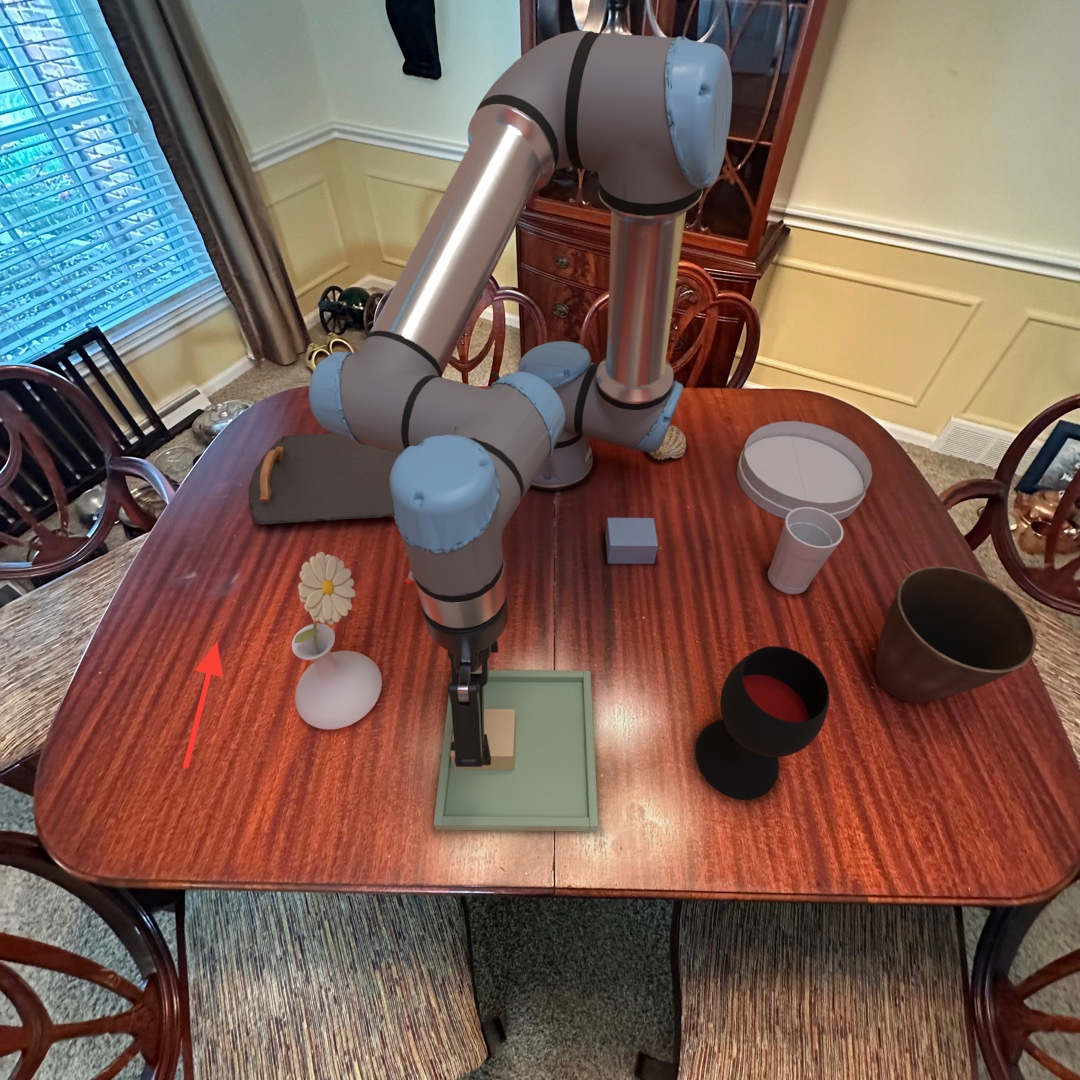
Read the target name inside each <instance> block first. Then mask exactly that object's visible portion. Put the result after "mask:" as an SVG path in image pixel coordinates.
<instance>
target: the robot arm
mask: <svg viewBox="0 0 1080 1080" xmlns="http://www.w3.org/2000/svg"><path fill="white" fill-rule="evenodd" d="M732 78H733V76H732V68H731V65H730V60H729V58H728V55H727V53H726V52H725V51H724V49H723V48H722V47H720V46H719V45H717V44H715V43H710V42H702V41H697V40H692V39H689V38H687V37H686V36H677V37H670V36H669V37H666V36H653V35H637V34H625V33H624V34H623V33H622V34H621V33H607V32H595V31H592V30H572V31H568V32H564V33H560V34H557V35H555V36H553V37H551V38H549V39H546V40H544V41H543V42H541V43H539V44H537V45H535V46H534V47H532V48H531V49H529V50H528V51H527V52H526V53H525V54H523V55H522V56H521V57H519V58H518V59H517V60H516V61H514V62H513V63H512V64H511V65H510V66H509V67H508V68H507V69H506V70H505V71H504V72H503V73H502V74H501V75H500V76H499V77H498V78H497V79H496V80H495V82H494V83H493V84H492V85H491V86H490V88H489V89H488V91H487V92H486V93H485V94H484V96H483V98H482V99H481V101H480V103H479V104H478V106H477V108H476V110H475V112H474V114H473V116H472V117H471V119H470V121H469V124H468V128H467V142H468V148H467V150H466V151H465V154H464V155H463V157H462V159H461V161H460V163H459V164H458V166H457V168H456V170H455V172H454V174H453V176H452V178H451V179H450V181H449V183H448V185H447V187H446V190H445V191H444V192H443V194H442V196H441V198H440V199H439V202H438V204H437V206H436V208H434V211H433V214H432V215H431V217H430V218H429V221H428V223H427V224H426V226H425V228H424V230H423V232H422V234H421V236H420V238H419V240H418V241H417V243H416V245H415V246H414V249H413V251H412V252H411V255H410V256H409V258H408V260H407V262H406V263H405V265H404V268H403V269H402V272H401V273H400V275H399V277H398V279H397V281H396V283H395V284H394V286H393V288H392V290H391V292H390V294H389V296H388V298H387V299H386V301H385V303H384V305H383V307H382V309H381V311H380V313H379V314H378V316H377V318H376V320H375V322H374V323H373V325H372V327H371V328H370V331H369V332H368V334H367V336H366V337H365V340H364V341H363V343H362V345H361V347H360V349H359V350H358V352H357V353H356V352H352V351H346V352H344V351H334V352H331V353H330V354H328V356H327V357H325V358H324V359H321V360H320V361H319V362H318V364H317V365H316V367H315V368H314V370H313V372H312V375H311V377H310V382H309V388H308V402H309V407H310V410H311V413H312V415H313V417H314V420H316V422H317V423H318V424H319V426H320V427H321V428H323V429H324V430H327V431H328V432H330V433H335V434H338V435H340V436H343V437H346V438H348V439H351V440H353V441H354V442H357V443H359V444H362V445H364V444H365V445H366V444H367V445H370V446H374V447H377V448H381V449H385V450H388V451H392V452H395V453H399V454H400V455H399V456H398V458H397V459H396V461H395V462H394V464H393V467H392V470H391V473H390V490H391V494H392V500H393V506H394V508H393V515H394V517H393V520H394V523H395V525H396V527H397V531H398V532H399V534H400V537H401V541H402V544H403V547H404V550H405V554H406V556H407V559H408V563H409V566H410V570H409V571H408V574H407V579H408V581H410V582H414V583H415V586H416V591H417V595H418V598H419V602H420V605H421V610H422V614H423V618H424V621H425V625H426V629H427V631H428V634H429V636H430V637H431V639H432V640H433V641H434V642H435V644H437V645H438V646H439V647H441V648H443V649H444V650H446V651H447V656H448V659H449V660H450V680H451V682H450V681H449V683H448V686H447V693H448V697H449V696H450V701H451V708H452V722H453V735H454V741H452V744H451V747H450V749H451V751H455V766H456V767H482V766H483V765H491V755H490V749H489V744H488V739H487V734H484V685H486V684H487V681H488V676H489V672H488V670H489V659H490V655H491V654H494V653H495V654H497V653H499V644H498V642H499V641H498V640H499V638H501V636H502V635H503V634H504V632H505V630H506V627H507V625H508V621H509V607H508V596H507V593H508V592H507V591H508V590H507V576H506V563H505V560H504V554H503V534H504V530H505V528H506V526H507V524H508V523H509V521H510V519H511V518H512V516H513V515H514V513H515V512H516V510H517V508H518V507H519V506H520V503H521V501H522V500H523V498H524V496H525V495H526V493H527V492H528V490H529V489H533V490H536V491H539V492H540V491H541V492H547V493H555V492H565V491H568V490H571V489H573V488H576V487H578V486H580V485H581V484H583V483H584V482H585V481H586V480H587V479H588V478H589V476H590V474H591V473H592V470H593V460H594V459H593V451H592V446H591V445H590V443H589V440H588V438H591V439H595V440H598V441H601V442H606V443H609V444H612V445H616V446H619V447H622V448H627V449H630V450H632V451H641V452H644V453H645V452H646V453H649V452H655V451H657V450H658V449H659V448H660V447H661V445H662V443H663V440H664V438H665V436H666V433H667V431H668V428H669V426H670V425H671V423H672V420H673V418H674V415H675V413H676V410H677V408H678V405H679V402H680V399H681V397H682V394H683V391H684V385H683V384H682V383H680V382H678V381H677V380H674V378H675V377H674V376H675V373H674V369H673V367H672V365H671V363H670V362H669V361H668V359H667V353H668V346H669V340H670V339H669V338H670V331H671V324H672V318H673V317H672V316H673V310H674V302H675V296H676V287H677V281H678V275H679V274H678V273H679V267H680V266H679V265H680V260H681V251H682V250H681V249H682V245H683V237H684V230H685V224H686V223H685V222H686V215H687V211H689V210H690V209H691V208H693V207H694V206H695V205H696V204H698V203H699V201H700V200H701V198H702V196H703V193H704V189H706V188H710V187H712V186H713V185H714V184H715V183H716V181H717V180H718V178H719V176H720V173H721V170H722V166H723V163H724V160H725V155H726V149H727V139H728V137H729V133H730V127H731V126H730V125H731V117H732V104H733V79H732ZM562 168H575V169H578V170H584V171H589V172H596V173H597V174H598V197H599V199H600V201H601V203H602V204H603V205H604V206H605V207H607V208H608V210H610V211H611V213H610V239H609V240H610V241H609V243H610V244H609V245H610V246H609V269H608V270H609V273H608V275H609V277H608V303H607V305H608V306H607V307H608V308H607V334H606V335H607V337H606V339H607V340H606V356H605V357H604V358H603V359H602V360H601V361H600V363H595V362H593V361H592V357H591V355H590V351H589V350H588V349H587V348H585V346H584V345H582V344H581V343H577V342H573V341H569V340H568V341H566V340H559V341H558V340H557V341H549V342H546V343H542V344H540V345H537V346H535V347H533V348H531V349H529V350H528V351H527V352H526V353H525V354H524V355H522V357H521V358H520V361H519V362H518V367H517V371H516V372H512V373H507V374H504V375H503V376H501V377H500V374H499V373H498V372H496V371H494V372H493V373H492V374H491V376H492V377H493V378H495V382H492V383H491V385H490V386H489V387H488V388H483V387H480V386H475V385H473V384H468V383H465V382H462V381H457V380H454V379H449V378H445V377H443V375H444V374H445V371H446V369H447V367H448V364H450V363H449V362H450V361H451V359H452V357H453V355H454V353H455V350H456V349H457V346H458V344H459V342H460V341H461V339H462V337H463V334H464V332H465V330H466V329H467V326H468V325H469V322H470V320H471V319H472V316H473V314H474V312H475V310H476V308H477V306H478V304H479V302H480V300H481V298H482V296H483V294H484V293H485V292H484V291H485V290H486V287H487V285H488V284H489V281H490V280H491V278H492V275H493V274H494V272H495V269H496V268H497V265H498V263H499V261H500V259H501V257H502V255H503V253H504V251H505V249H506V247H507V245H508V243H509V241H510V239H511V237H512V235H513V233H514V231H515V230H516V228H517V227H516V226H517V224H518V223H519V220H520V219H521V217H522V214H523V213H524V210H525V208H526V206H527V205H528V203H529V201H530V198H531V196H532V194H533V193H534V192H538V191H540V190H542V189H543V188H545V187H546V186H547V184H548V183H549V182H550V180H551V178H552V177H553V175H554V172H555V171H556V170H559V169H562ZM480 668H481V670H482V673H472V672H475V671H477V670H480Z"/></svg>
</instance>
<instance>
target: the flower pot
mask: <svg viewBox="0 0 1080 1080" xmlns="http://www.w3.org/2000/svg"><path fill="white" fill-rule="evenodd" d="M1036 647H1037V634H1036V630H1035V627H1034V624H1033V623H1032V620H1031V618H1030V617H1029V615H1028V613H1027V612H1026V611H1025V609H1024V608H1023V607H1022V606H1021V604H1020V603H1019V602H1018V601H1017V600H1016V599H1015V598H1014V597H1013V596H1011V594H1009V593H1008V592H1007V591H1006V590H1004V589H1003V588H1002V587H1001V586H999V585H997V584H996V583H994V582H992V581H991V580H990V579H987V578H985V577H984V576H981V575H979V574H976V573H974V572H971V571H968V570H965V569H961V568H958V567H952V566H944V565H942V566H941V565H935V566H925V567H921V568H919V569H916V570H914V571H912V572H910V573H909V574H907V576H905V577H904V579H902V582H901V583H900V585H899V587H898V589H897V591H896V593H895V595H894V597H893V599H892V601H891V603H890V606H889V608H888V611H887V613H886V616H885V619H884V621H883V625H882V628H881V632H880V635H879V639H878V644H877V650H876V658H875V676H876V678H877V681H878V683H879V684H880V686H881V687H882V689H884V690H885V691H886V692H887V694H889V695H891V696H892V697H894V698H895V699H897V700H899V701H902V702H904V703H905V702H906V703H909V704H920V703H927V702H932V701H938V700H943V699H946V698H947V699H948V698H951V697H954V696H957V695H960V694H964V693H966V692H970V691H972V690H975V689H979V688H980V687H983V686H985V685H988V684H990V683H992V682H994V681H997V680H999V679H1001V678H1003V677H1005V676H1007V675H1008V674H1011V673H1013V672H1014V671H1016V670H1019V669H1021V668H1022V667H1023V666H1025V665H1027V663H1028V662H1030V660H1032V658H1033V656H1034V655H1035V652H1036Z"/></svg>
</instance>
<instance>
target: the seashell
mask: <svg viewBox="0 0 1080 1080" xmlns="http://www.w3.org/2000/svg"><path fill="white" fill-rule="evenodd" d="M686 440H687V439H686V436H685V434H684V432H683V431H682V430H681V429H679V426H676V425H673V424H672V425H671V424H670V426H669V428H668V431H667V433H666V436H665V438H664V440H663V443H662V445H661V447H660V448H659V449H658V450H657V451H655V452H648V455H650V456H651V458H652V459H653V460H656V461H664V460H666V459H669V458H672V459H679V458H681V457H683V456H684V454H685V452H686V448H687V441H686Z"/></svg>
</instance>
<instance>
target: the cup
mask: <svg viewBox="0 0 1080 1080" xmlns="http://www.w3.org/2000/svg"><path fill="white" fill-rule="evenodd" d="M843 539H844V528H843V526H842V524H841V522H840V521H838V520H837V519H836V518H835V517H834V516H832V515H831V514H829V513H827V512H825V511H823V510H821V509H817V508H813V507H800V508H796V509H794V510H792V511H791V512H789V513H788V515H787V517H786V519H784V523H783V526H782V529H781V533H780V537H779V539H778V543H777V545H776V549H775V552H774V554H773V557H772V561H771V563H770V566H769V568H768V570H767V579H768V580H769V582H770V584H771V585H772V586H773V587H774V588H775V589H776V590H778V591H780V592H782V593H785V594H789V595H797V594H802V593H804V592H805V591H806V590H807V589H808V588H809V587H810V584H811V582H812V581H813V580H814V579H815V577H816V576H817V574H818V573H819V571H820V570H821V569H822V567H823V566H824V565H825V564H826V562H827V561H828V559H829V558H830V556H831V555H832V554H833V552H834V551H835V550H836V549H837V547H838V546H839V544H841V541H842V540H843Z"/></svg>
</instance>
